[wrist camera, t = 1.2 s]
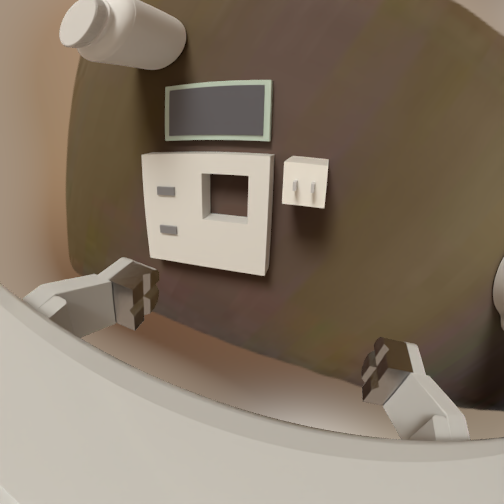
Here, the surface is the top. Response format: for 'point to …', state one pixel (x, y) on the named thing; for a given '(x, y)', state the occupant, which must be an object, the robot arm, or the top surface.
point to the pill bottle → (123, 33)
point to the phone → (219, 111)
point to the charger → (305, 181)
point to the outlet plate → (207, 210)
